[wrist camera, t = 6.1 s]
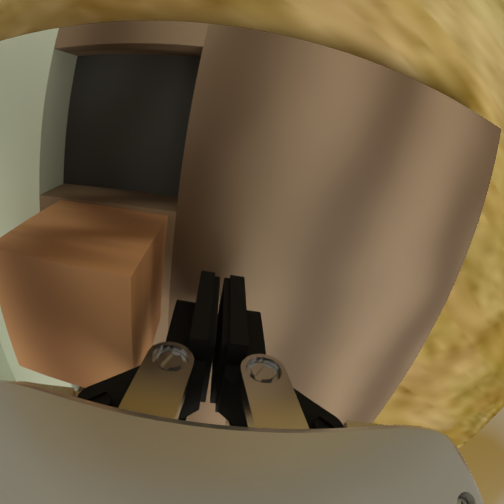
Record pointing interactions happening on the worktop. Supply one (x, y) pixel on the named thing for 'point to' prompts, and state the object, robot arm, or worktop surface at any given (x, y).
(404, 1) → the worktop surface
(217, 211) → the track
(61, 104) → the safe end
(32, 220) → the block
